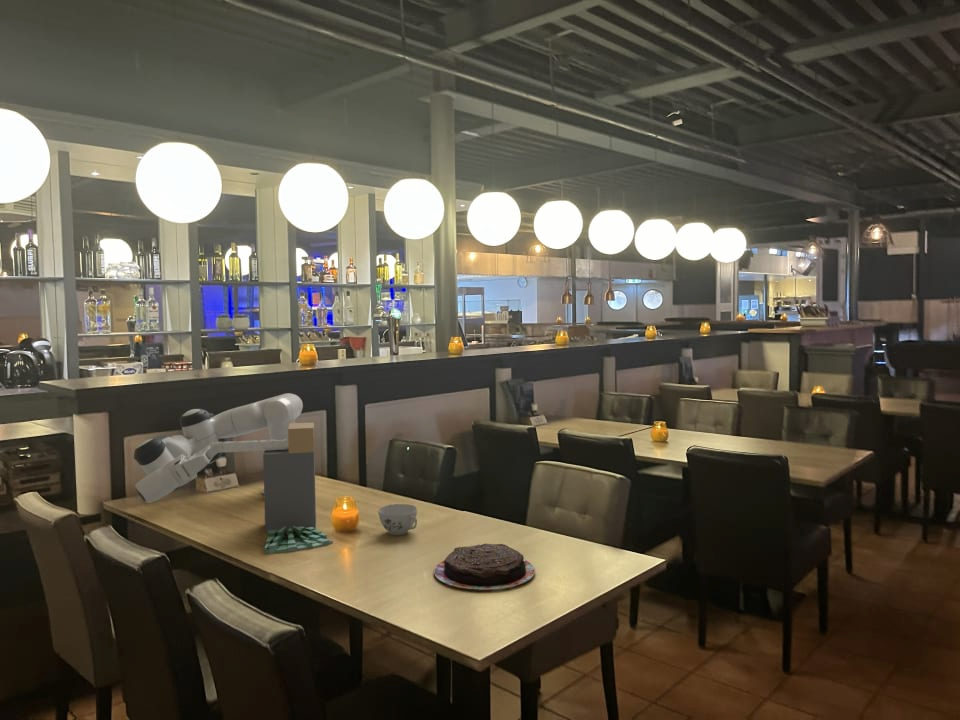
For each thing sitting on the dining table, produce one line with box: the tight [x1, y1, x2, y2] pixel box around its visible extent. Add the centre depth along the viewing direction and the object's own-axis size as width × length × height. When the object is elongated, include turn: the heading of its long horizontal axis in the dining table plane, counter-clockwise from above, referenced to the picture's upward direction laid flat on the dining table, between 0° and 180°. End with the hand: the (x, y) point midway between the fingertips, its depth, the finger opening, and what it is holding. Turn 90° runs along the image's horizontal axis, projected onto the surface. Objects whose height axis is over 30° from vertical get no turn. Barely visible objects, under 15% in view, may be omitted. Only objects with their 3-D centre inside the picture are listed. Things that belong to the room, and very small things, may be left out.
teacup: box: [377, 503, 418, 536], centre depth 239 cm, size 15×12×8 cm
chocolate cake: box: [433, 543, 536, 593], centre depth 203 cm, size 28×28×7 cm
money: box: [264, 526, 333, 555], centre depth 229 cm, size 20×16×5 cm
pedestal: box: [262, 422, 317, 534], centre depth 247 cm, size 12×16×34 cm
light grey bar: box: [210, 439, 287, 453], centre depth 243 cm, size 3×24×3 cm, turn 102°
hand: (223, 445), depth 242 cm, fingers closed on light grey bar, 3 cm apart
